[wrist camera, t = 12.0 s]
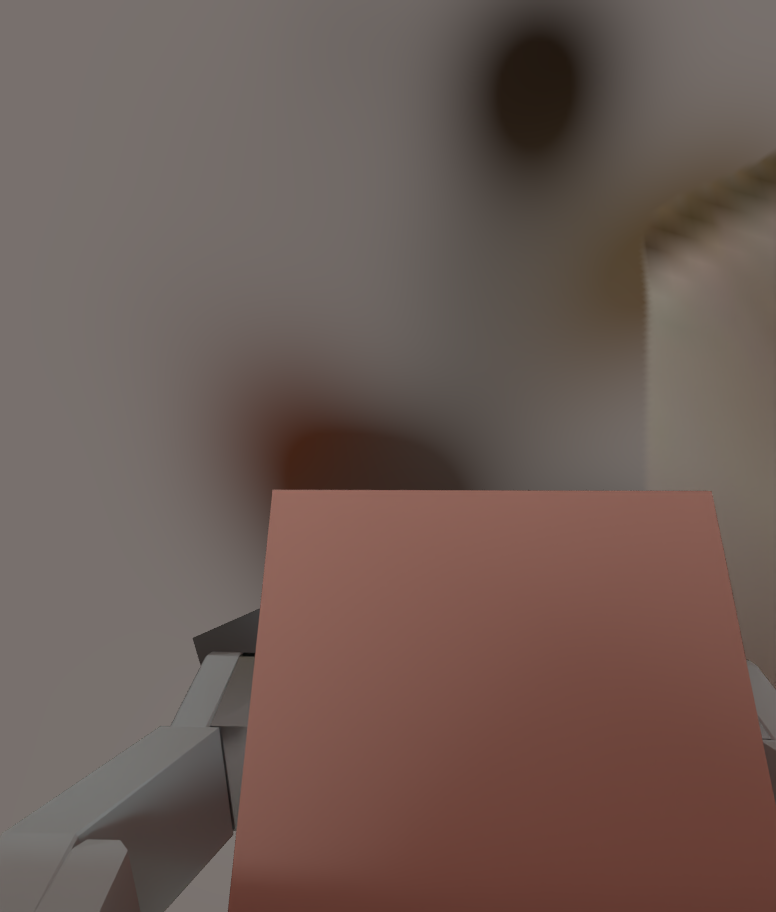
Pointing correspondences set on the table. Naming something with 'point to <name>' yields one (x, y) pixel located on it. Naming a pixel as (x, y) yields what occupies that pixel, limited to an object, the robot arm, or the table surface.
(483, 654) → the red block
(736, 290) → the table surface
